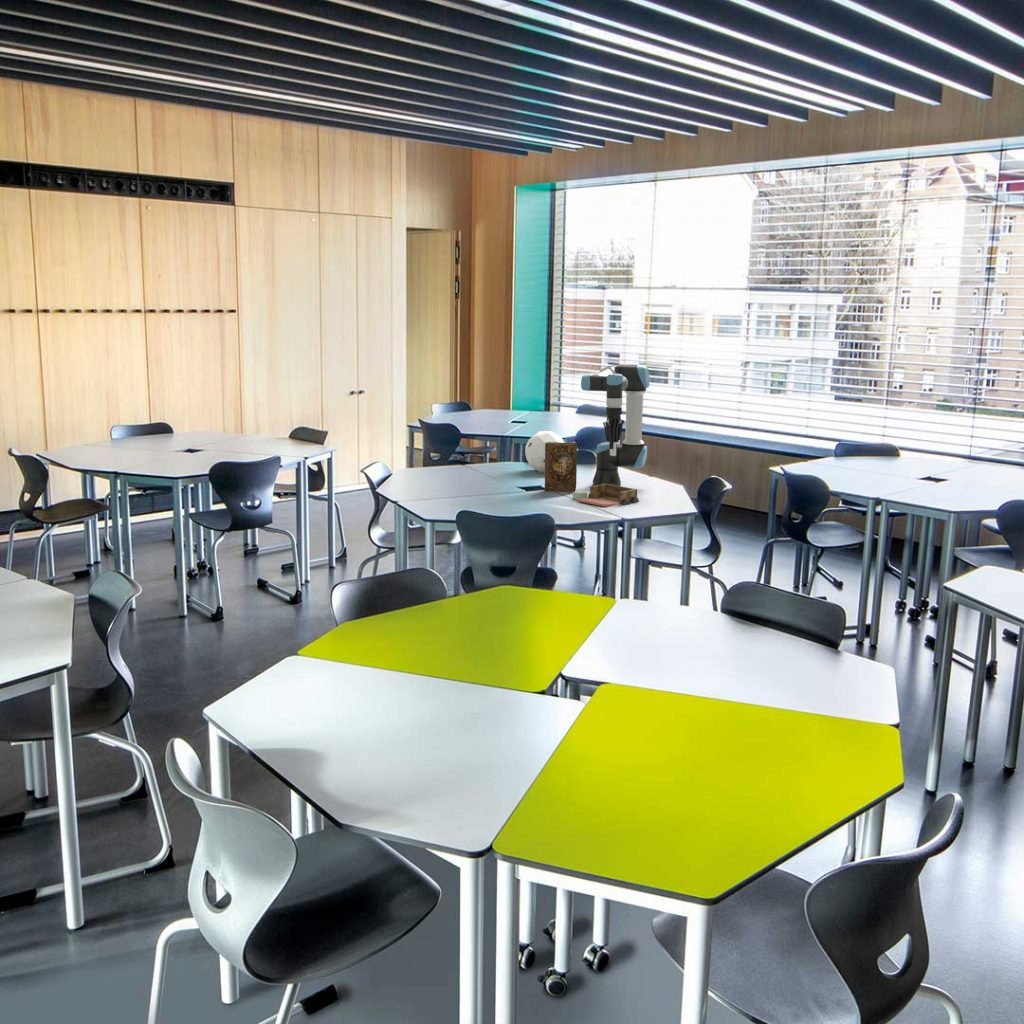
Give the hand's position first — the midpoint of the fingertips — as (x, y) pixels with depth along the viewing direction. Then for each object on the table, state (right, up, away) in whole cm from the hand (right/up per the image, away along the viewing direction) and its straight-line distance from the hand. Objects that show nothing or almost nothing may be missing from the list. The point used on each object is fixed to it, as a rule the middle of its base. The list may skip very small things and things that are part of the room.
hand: (612, 455), depth 476 cm
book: (-23, -16, +39) cm, 49 cm away
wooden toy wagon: (+1, -23, +10) cm, 25 cm away
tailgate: (-3, -22, +6) cm, 23 cm away
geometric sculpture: (-29, -4, +95) cm, 100 cm away
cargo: (-15, -22, +13) cm, 30 cm away
